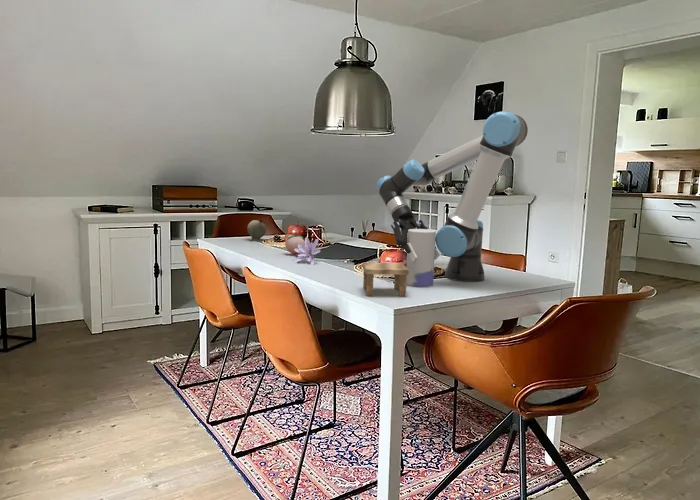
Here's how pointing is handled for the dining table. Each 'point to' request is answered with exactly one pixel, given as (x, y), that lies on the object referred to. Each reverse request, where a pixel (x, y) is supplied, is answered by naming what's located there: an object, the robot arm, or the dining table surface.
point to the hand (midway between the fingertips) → (426, 258)
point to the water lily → (307, 251)
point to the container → (421, 257)
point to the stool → (385, 268)
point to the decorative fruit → (293, 243)
